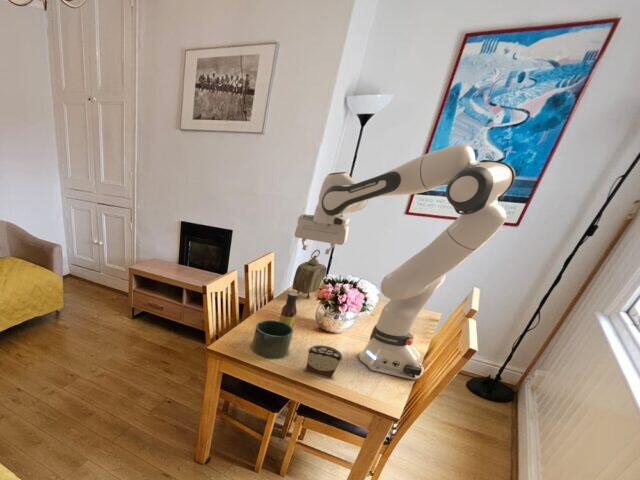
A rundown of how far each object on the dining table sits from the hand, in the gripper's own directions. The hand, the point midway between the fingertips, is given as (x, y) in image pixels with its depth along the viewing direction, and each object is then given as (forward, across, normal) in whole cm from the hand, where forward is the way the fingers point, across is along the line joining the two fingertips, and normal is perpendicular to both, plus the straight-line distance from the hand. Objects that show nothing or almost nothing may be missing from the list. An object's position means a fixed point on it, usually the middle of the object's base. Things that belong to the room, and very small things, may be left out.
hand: (315, 251), depth 166 cm
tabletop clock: (+33, -8, +35) cm, 49 cm away
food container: (+35, +22, -34) cm, 53 cm away
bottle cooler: (+35, 0, -30) cm, 46 cm away
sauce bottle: (+34, 0, -15) cm, 38 cm away
